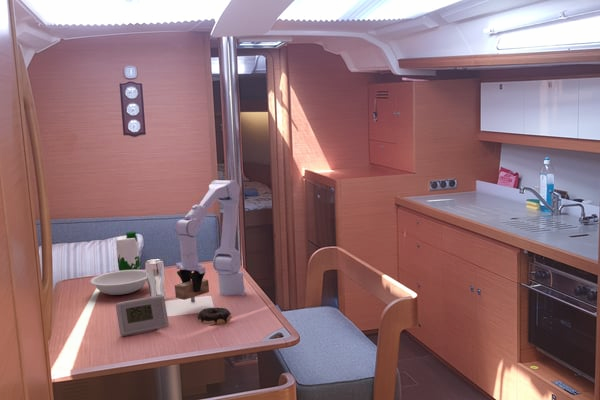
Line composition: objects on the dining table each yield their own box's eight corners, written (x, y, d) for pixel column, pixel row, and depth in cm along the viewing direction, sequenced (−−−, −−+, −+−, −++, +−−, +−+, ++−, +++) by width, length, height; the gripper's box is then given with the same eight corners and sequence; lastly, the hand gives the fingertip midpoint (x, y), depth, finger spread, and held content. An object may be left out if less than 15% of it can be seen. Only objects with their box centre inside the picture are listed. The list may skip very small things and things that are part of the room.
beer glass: (162, 302, 259) (158, 263, 257) (145, 302, 260) (141, 263, 258) (169, 296, 266) (166, 258, 263) (152, 296, 267) (149, 259, 265)
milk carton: (139, 279, 296) (135, 233, 293) (118, 281, 295) (113, 235, 292) (142, 274, 304) (137, 230, 302) (121, 276, 304) (116, 232, 301)
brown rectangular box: (200, 289, 250) (199, 277, 249) (209, 292, 246) (208, 279, 245) (175, 297, 242) (174, 284, 241) (184, 299, 238) (183, 287, 238)
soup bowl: (149, 281, 291) (148, 266, 290) (156, 295, 268) (154, 279, 267) (90, 290, 284) (89, 274, 283) (92, 305, 261) (90, 288, 260)
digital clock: (118, 338, 221) (114, 306, 220) (119, 329, 230) (116, 298, 229) (169, 331, 224) (166, 300, 223) (168, 323, 233) (165, 293, 232)
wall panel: (211, 298, 260) (210, 287, 259) (215, 313, 240) (214, 302, 240) (152, 305, 256) (151, 294, 255) (151, 321, 236) (150, 310, 236)
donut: (204, 329, 225) (203, 317, 224) (193, 320, 235) (192, 308, 235) (235, 322, 229) (234, 311, 229) (224, 314, 240) (223, 303, 239)
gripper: (167, 253, 244) (171, 290, 246) (192, 258, 234) (196, 296, 236) (183, 249, 249) (187, 285, 251) (208, 253, 239) (212, 291, 241)
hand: (192, 290), depth 244 cm, fingers closed on brown rectangular box, 5 cm apart
